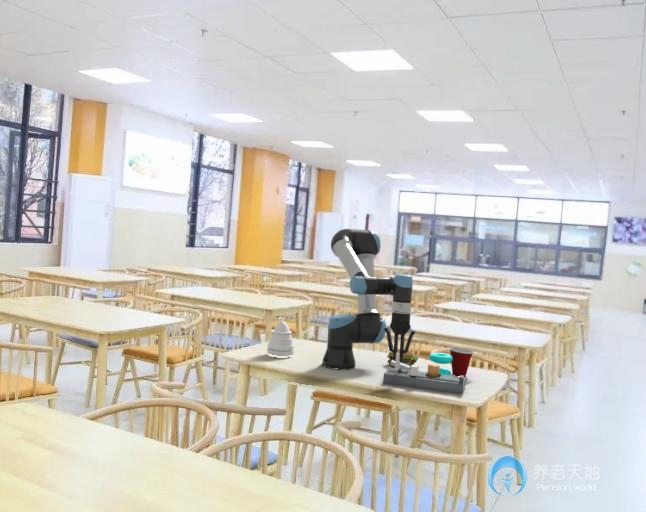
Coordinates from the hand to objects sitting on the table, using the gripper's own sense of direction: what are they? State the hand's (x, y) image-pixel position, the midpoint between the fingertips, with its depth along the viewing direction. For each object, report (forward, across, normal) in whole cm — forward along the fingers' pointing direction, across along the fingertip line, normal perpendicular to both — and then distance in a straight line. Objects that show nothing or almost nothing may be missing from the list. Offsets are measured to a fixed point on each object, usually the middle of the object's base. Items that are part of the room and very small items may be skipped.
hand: (397, 369), depth 247 cm
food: (+6, -4, +34) cm, 35 cm away
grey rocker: (0, 0, +6) cm, 7 cm away
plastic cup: (+6, +23, +30) cm, 39 cm away
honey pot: (+6, -61, +24) cm, 66 cm away
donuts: (+6, +15, +22) cm, 28 cm away
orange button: (+3, +14, +6) cm, 16 cm away
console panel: (+6, +11, +4) cm, 13 cm away
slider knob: (+1, +7, 0) cm, 7 cm away
